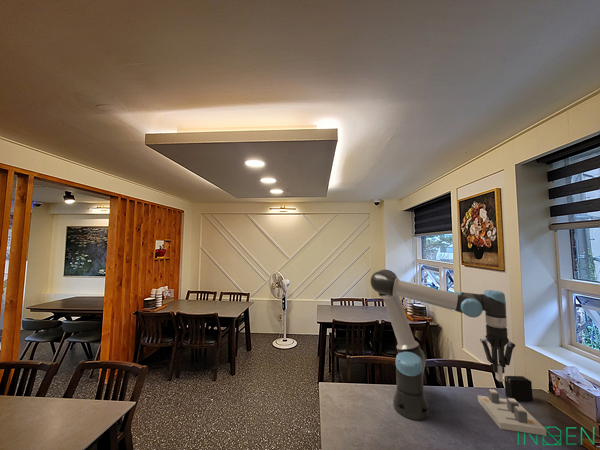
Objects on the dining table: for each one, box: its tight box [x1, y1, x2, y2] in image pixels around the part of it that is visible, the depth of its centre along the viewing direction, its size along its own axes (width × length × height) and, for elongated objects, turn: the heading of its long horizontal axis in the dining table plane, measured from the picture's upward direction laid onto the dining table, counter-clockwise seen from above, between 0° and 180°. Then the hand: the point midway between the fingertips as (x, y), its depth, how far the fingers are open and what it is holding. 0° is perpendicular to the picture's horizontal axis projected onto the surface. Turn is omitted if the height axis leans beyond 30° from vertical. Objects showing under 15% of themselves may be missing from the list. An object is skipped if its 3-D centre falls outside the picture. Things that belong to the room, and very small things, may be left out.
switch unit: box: [477, 395, 547, 437], centre depth 108 cm, size 16×19×3 cm
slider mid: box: [506, 397, 520, 413], centre depth 108 cm, size 3×3×5 cm
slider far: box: [487, 388, 500, 403], centre depth 114 cm, size 3×3×5 cm
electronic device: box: [503, 375, 534, 403], centre depth 121 cm, size 4×10×10 cm, turn 89°
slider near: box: [514, 406, 528, 423], centre depth 102 cm, size 3×3×5 cm
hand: (499, 380), depth 107 cm, fingers closed
